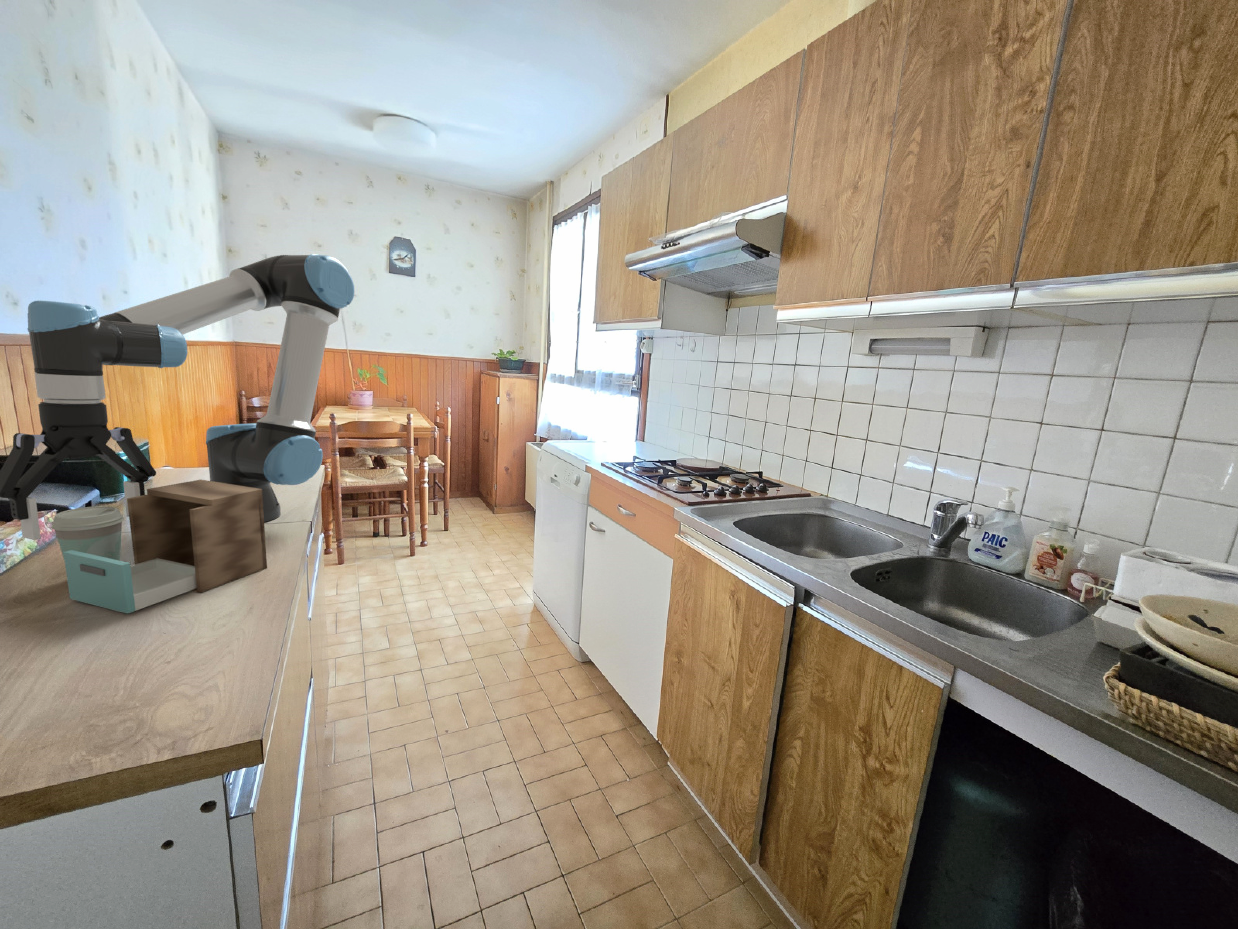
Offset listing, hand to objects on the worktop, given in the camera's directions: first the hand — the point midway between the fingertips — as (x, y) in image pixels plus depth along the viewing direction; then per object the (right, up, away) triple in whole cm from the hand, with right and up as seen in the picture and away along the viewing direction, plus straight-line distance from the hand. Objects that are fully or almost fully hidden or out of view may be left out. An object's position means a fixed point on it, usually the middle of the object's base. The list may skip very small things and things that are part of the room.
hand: (87, 527), depth 85 cm
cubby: (+14, -9, +7) cm, 18 cm away
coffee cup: (-1, -9, +2) cm, 10 cm away
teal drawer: (+12, -10, -2) cm, 16 cm away
